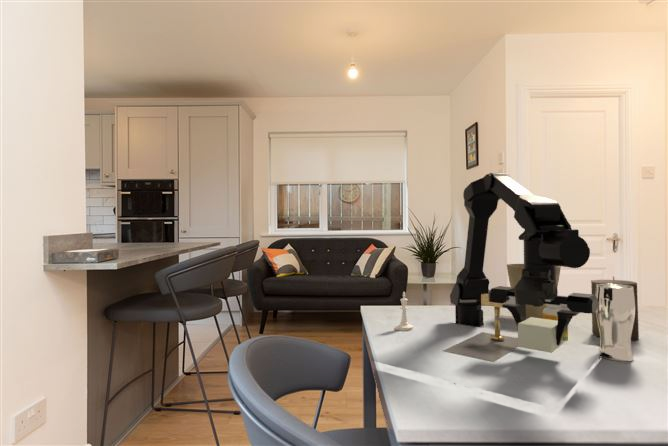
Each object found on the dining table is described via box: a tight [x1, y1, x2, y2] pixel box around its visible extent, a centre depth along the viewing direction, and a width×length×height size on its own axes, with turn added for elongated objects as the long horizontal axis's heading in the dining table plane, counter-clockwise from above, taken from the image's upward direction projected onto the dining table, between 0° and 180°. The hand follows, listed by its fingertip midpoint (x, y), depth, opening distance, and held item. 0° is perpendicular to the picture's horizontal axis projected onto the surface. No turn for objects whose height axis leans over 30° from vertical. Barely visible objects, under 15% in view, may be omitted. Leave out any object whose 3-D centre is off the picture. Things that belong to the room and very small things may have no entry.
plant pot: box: [506, 263, 562, 319], centre depth 125 cm, size 15×15×16 cm
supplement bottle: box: [543, 304, 569, 342], centre depth 99 cm, size 5×5×10 cm
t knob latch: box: [481, 293, 516, 341], centre depth 94 cm, size 3×12×10 cm, turn 42°
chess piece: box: [394, 291, 414, 332], centre depth 112 cm, size 5×5×10 cm
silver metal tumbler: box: [595, 284, 635, 363], centre depth 86 cm, size 7×7×15 cm
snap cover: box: [517, 317, 564, 354], centre depth 81 cm, size 6×8×4 cm
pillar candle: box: [590, 276, 640, 342], centre depth 103 cm, size 10×10×15 cm
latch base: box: [442, 331, 519, 363], centre depth 91 cm, size 11×21×1 cm, turn 137°
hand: (540, 342), depth 81 cm, fingers closed on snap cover, 6 cm apart
